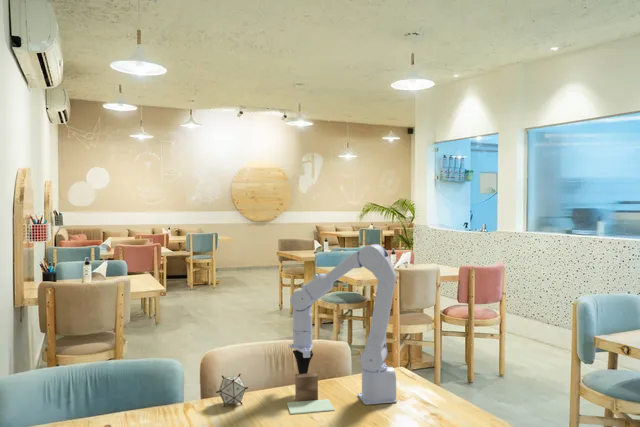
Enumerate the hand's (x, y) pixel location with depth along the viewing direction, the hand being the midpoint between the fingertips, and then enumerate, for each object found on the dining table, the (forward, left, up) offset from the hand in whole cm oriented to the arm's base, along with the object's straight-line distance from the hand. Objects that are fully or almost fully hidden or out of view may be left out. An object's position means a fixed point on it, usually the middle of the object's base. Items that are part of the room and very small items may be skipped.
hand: (302, 375), depth 149 cm
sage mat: (0, +12, -5) cm, 13 cm away
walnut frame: (0, +6, -5) cm, 8 cm away
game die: (+21, +5, -5) cm, 22 cm away
